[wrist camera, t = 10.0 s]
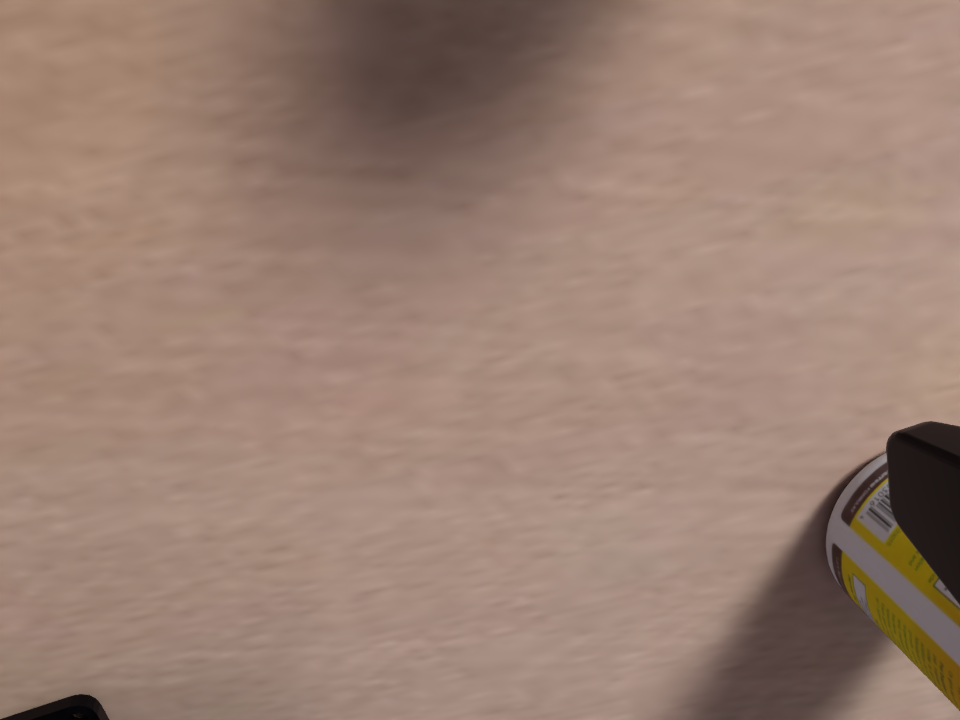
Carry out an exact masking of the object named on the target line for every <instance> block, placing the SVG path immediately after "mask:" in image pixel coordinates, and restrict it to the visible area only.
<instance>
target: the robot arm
mask: <svg viewBox="0 0 960 720" xmlns="http://www.w3.org/2000/svg"><path fill="white" fill-rule="evenodd" d="M886 454H887V470H888V487H889V501H890V507H891V511H892V514H893V516H894V519H895V521H896V522H897V524H898V526H899V527H900V529H901V530H902V531H903V533H904V534H905V535H906V537H907V538H908V539H909V540H910V542H911V543H912V544H913V546H914V547H915V548H916V549H917V551H918V552H919V553H920V555H921V556H922V557H923V559H924V560H925V561H926V562H927V564H928V565H929V566H930V568H931V569H932V570H933V571H934V573H935V574H936V575H937V577H938V578H939V579H940V580H941V582H942V583H943V584H944V586H945V587H946V588H947V589H948V591H949V592H950V593H951V595H952V596H953V597H954V598H955V600H956V601H957V602H958V604H959V605H960V426H955V425H949V424H944V423H939V422H932V421H929V422H923V423H920V424H917V425H914V426H911V427H908V428H905V429H902V430H899V431H896V432H894V433H892V435H891V436H890V437H889V438H888V441H887V446H886ZM76 713H81V714H84V715H85V716H87V717H83V718H79V717H75V716H74V715H73V714H76ZM0 720H109V718H108V716H107V714H106V713H105V711H104V709H103V707H102V705H101V704H100V703H99V701H98V700H97V699H96V698H94V697H92V696H90V695H83V694H80V695H74V696H70V697H67V698H64V699H61V700H58V701H55V702H52V703H49V704H46V705H43V706H40V707H37V708H34V709H31V710H28V711H25V712H21V713H18V714H15V715H12V716H9V717H6V718H3V719H0Z"/></svg>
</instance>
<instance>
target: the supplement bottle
mask: <svg viewBox="0 0 960 720" xmlns="http://www.w3.org/2000/svg"><path fill="white" fill-rule="evenodd" d="M826 553H827V558H828V563H829V566H830V569H831V571H832V573H833V576H834V578H835V579H836V581H837V583H838V584H839V585H840V587H841V588H842V589H843V590H844V591H845V592H846V593H847V595H848V596H849V597H850V598H851V599H852V600H853V601H854V602H855V603H856V604H857V605H858V606H859V607H860V608H861V609H862V610H863V611H864V612H865V613H866V615H868V616H869V618H870V619H871V620H872V621H873V622H874V623H875V624H876V625H877V626H878V627H879V628H880V629H881V630H882V631H883V632H884V633H885V634H886V635H887V636H888V637H889V638H890V639H891V640H892V641H893V642H894V643H895V645H896V646H897V647H898V648H899V649H900V650H901V651H902V652H903V653H904V654H905V655H906V656H907V657H908V658H909V659H910V660H911V661H912V662H913V663H914V664H915V665H916V666H917V667H918V668H919V669H920V670H921V672H922V673H923V674H925V675H926V676H927V677H928V678H929V680H930V681H931V682H932V683H933V684H934V685H935V686H936V687H937V688H938V689H939V690H940V691H941V692H942V693H943V694H944V695H945V696H946V697H947V698H948V699H949V700H950V701H951V702H952V703H953V704H954V705H955V706H956V708H957V709H958V710H959V711H960V605H959V604H958V602H957V601H956V600H955V598H954V597H953V596H952V595H951V593H950V592H949V591H948V589H947V588H946V587H945V586H944V584H943V583H942V582H941V580H940V579H939V578H938V577H937V575H936V574H935V573H934V571H933V570H932V569H931V568H930V566H929V565H928V564H927V562H926V561H925V560H924V559H923V557H922V556H921V555H920V553H919V552H918V551H917V549H916V548H915V547H914V546H913V544H912V543H911V542H910V540H909V539H908V538H907V537H906V535H905V534H904V533H903V531H902V530H901V529H900V527H899V526H898V524H897V522H896V521H895V519H894V516H893V514H892V511H891V507H890V501H889V487H888V470H887V454H886V453H885V454H883V455H881V456H879V457H878V458H876V459H875V460H873V461H872V462H871V463H869V464H868V465H867V466H866V467H864V468H863V469H862V470H861V471H860V472H859V473H858V474H857V475H856V476H855V477H854V478H853V479H852V480H851V482H850V483H849V484H848V485H847V487H846V488H845V489H844V491H843V492H842V494H841V495H840V497H839V499H838V500H837V502H836V505H835V507H834V509H833V511H832V514H831V517H830V519H829V524H828V528H827V535H826Z"/></svg>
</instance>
